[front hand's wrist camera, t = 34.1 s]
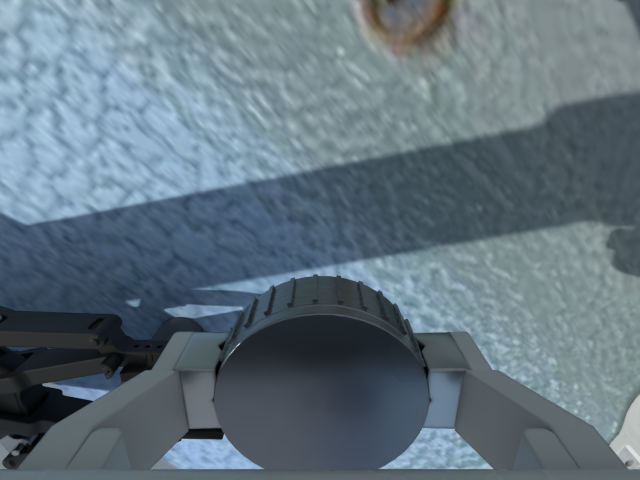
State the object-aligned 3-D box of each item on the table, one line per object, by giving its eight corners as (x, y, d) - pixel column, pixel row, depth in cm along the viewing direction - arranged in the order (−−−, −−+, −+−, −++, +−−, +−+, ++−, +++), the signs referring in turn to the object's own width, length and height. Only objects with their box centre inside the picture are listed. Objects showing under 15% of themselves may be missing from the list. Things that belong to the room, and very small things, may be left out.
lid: (204, 289, 9) (181, 329, 8) (406, 257, 9) (425, 293, 8) (252, 437, 11) (240, 494, 10) (421, 415, 11) (439, 470, 9)
